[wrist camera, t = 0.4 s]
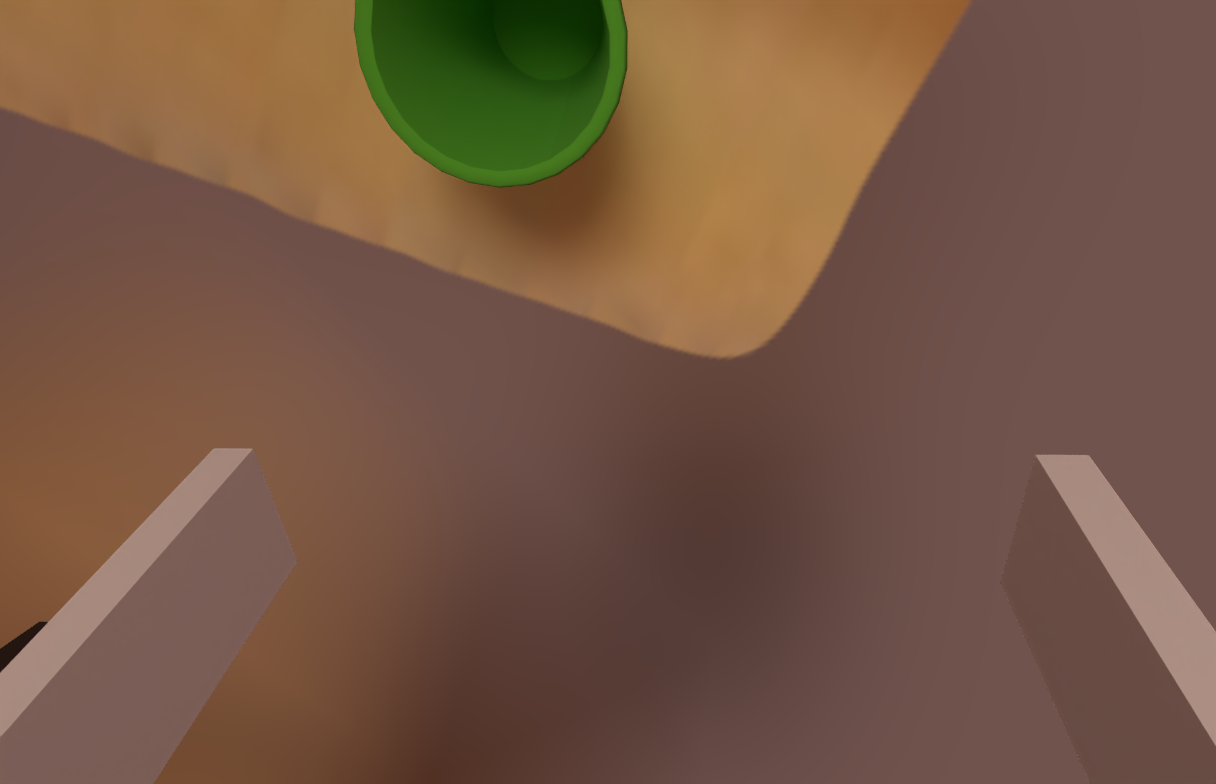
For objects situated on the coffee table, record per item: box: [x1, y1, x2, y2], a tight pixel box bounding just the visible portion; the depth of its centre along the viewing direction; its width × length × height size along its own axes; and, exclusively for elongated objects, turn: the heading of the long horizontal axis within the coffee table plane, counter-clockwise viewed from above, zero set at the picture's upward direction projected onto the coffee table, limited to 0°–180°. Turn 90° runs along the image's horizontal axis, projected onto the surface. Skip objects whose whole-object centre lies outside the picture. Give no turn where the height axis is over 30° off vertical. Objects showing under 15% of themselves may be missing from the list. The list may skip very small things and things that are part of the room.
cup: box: [354, 0, 627, 187], centre depth 29 cm, size 9×9×11 cm
